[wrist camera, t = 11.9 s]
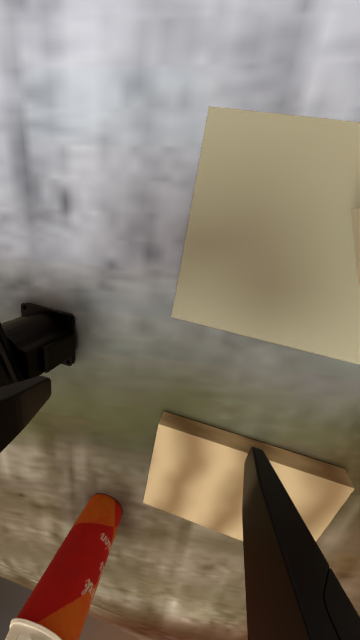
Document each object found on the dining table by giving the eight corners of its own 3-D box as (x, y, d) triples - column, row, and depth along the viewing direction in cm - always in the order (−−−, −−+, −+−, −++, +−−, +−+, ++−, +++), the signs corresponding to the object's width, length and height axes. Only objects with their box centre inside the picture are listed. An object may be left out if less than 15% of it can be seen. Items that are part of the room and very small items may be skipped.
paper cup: (118, 529, 36) (54, 690, 23) (78, 504, 36) (-7, 650, 23) (136, 507, 33) (75, 678, 20) (93, 480, 33) (5, 632, 20)
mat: (172, 315, 21) (171, 316, 21) (209, 111, 16) (209, 106, 15) (421, 377, 18) (427, 381, 18) (580, 151, 13) (596, 147, 12)
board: (148, 487, 31) (143, 502, 29) (163, 411, 26) (158, 423, 24) (295, 542, 28) (299, 563, 26) (344, 468, 23) (354, 488, 21)
